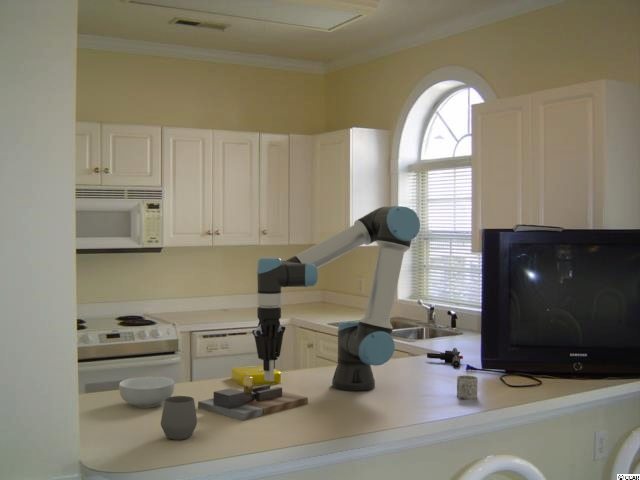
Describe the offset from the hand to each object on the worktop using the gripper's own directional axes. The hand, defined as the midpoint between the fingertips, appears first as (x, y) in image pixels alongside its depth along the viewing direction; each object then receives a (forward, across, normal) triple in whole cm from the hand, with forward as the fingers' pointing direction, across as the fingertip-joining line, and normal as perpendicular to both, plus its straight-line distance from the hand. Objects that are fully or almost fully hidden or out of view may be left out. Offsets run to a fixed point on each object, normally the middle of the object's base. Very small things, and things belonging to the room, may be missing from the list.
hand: (269, 380), depth 226 cm
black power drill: (+9, -101, +4) cm, 102 cm away
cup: (+7, +43, +10) cm, 45 cm away
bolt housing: (+5, +9, 0) cm, 10 cm away
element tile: (+8, -20, -27) cm, 34 cm away
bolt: (+5, +12, 0) cm, 13 cm away
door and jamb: (+7, +7, 0) cm, 10 cm away
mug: (+8, -50, +42) cm, 66 cm away
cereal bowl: (+7, +28, -25) cm, 39 cm away
